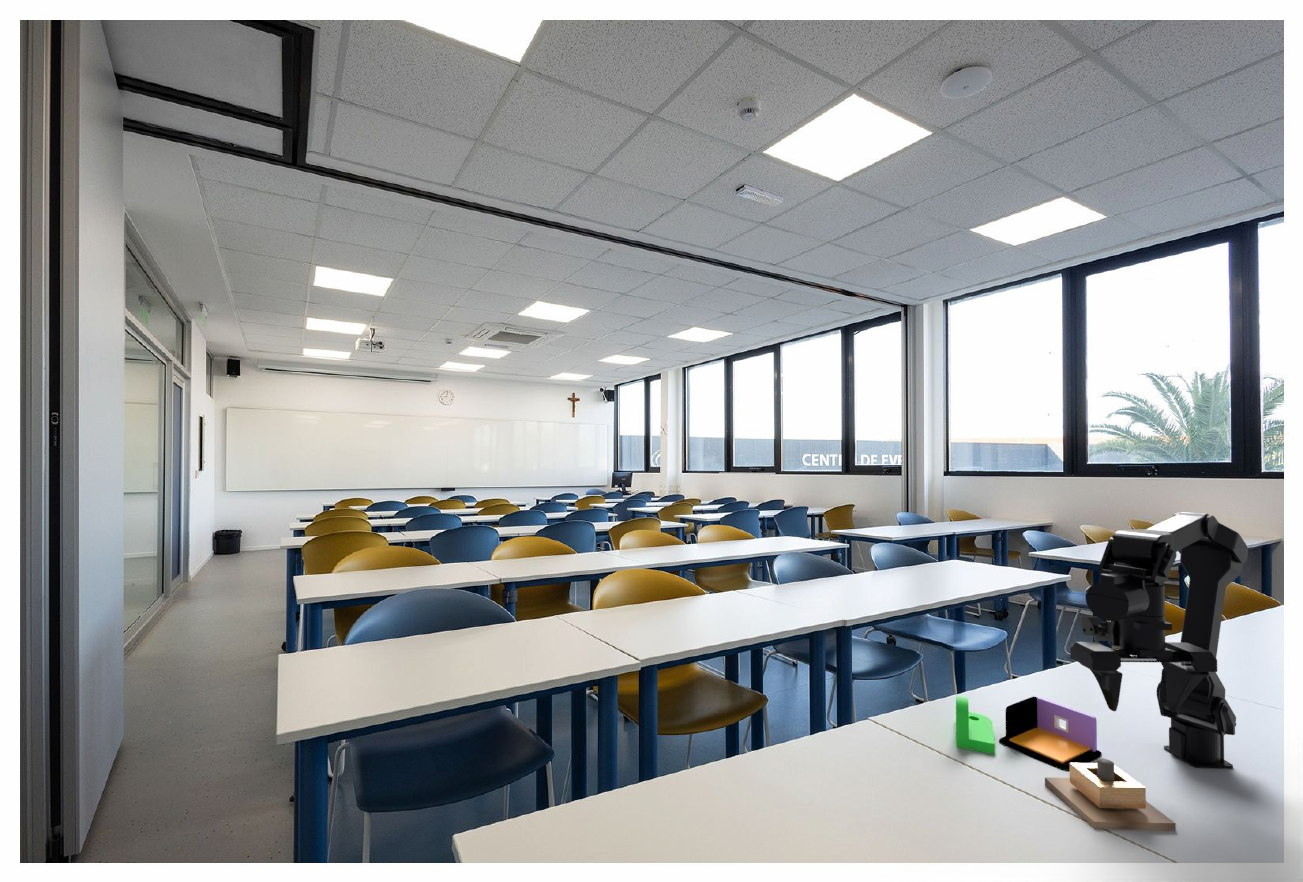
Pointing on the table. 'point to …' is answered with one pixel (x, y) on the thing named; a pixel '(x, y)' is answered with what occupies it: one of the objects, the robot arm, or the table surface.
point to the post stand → (1108, 816)
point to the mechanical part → (973, 729)
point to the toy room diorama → (1051, 733)
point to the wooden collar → (1108, 787)
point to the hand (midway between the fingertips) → (1142, 710)
